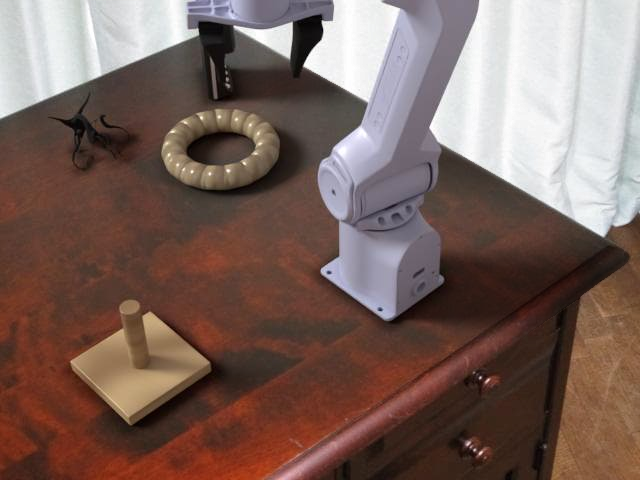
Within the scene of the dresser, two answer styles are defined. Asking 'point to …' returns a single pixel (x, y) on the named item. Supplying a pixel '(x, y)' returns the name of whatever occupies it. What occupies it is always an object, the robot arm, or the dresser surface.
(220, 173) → the segmented beige ring
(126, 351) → the stand
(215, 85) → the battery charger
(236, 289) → the dresser surface
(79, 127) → the creature
